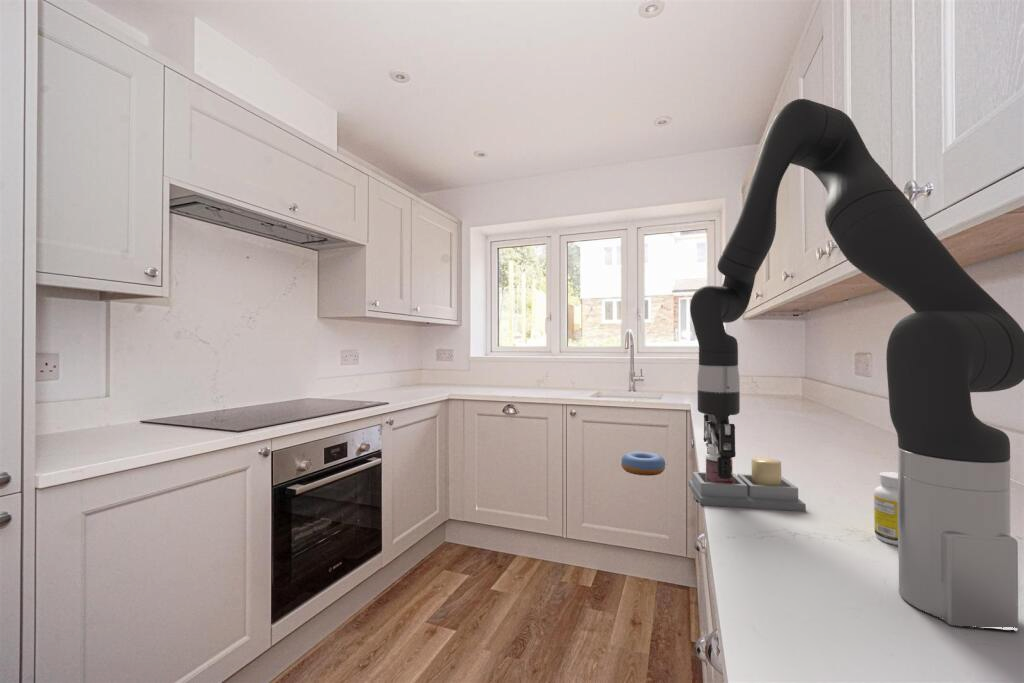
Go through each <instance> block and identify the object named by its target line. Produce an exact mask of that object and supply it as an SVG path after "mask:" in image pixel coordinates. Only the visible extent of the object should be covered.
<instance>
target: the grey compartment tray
mask: <svg viewBox="0 0 1024 683" xmlns="http://www.w3.org/2000/svg"><path fill="white" fill-rule="evenodd" d="M732 480H733V481H732V484H728V483H708V482H706V471H704V472H703V471H702V472H701V471H692V479H688V487H689V489H690V491H691V492H692V493H693V495H694V496H695V498H696V500H697V501H698V503H699V505H702V506H714V507H730V508H733V507H735V508H747V509H763V510H767V509H768V510H779V511H781V510H783V511H796V512H797V511H800V512H801V511H802V512H806V508H807V506H806V505H807V504H806V503H804V502H803V500H801V499H800V498H799V487H797V486H796V485H795V484H794V483H792V482H790V481H789V480H788V479H787V478H785V477H783V476H782V461H780V460H777V459H773V458H769V457H753V458H751V473H750V474H749V473H747V474H746V473H737V474H736V473H732Z"/></svg>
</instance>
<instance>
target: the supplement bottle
mask: <svg viewBox="0 0 1024 683" xmlns="http://www.w3.org/2000/svg"><path fill="white" fill-rule="evenodd" d="M879 483H880V484H881V485H878V486H877V487H875V488H874V491H873V506H874V508H873V510H874V511H873V512H874V513H873V516H874V518H873V519H874V522H873V523H874V535H875V537H876V538H877V539H879V540H880V541H882V542H885V543H888V544H891V545H895V546H898V472H894V471H893V472H891V471H882V472H879Z"/></svg>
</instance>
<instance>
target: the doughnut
mask: <svg viewBox="0 0 1024 683" xmlns="http://www.w3.org/2000/svg"><path fill="white" fill-rule="evenodd" d="M620 466H621V468H622V469H623V471H625V472H627V473H629V474H632V475H637V476H647V477H648V476H657V475H660V474H662V473H664V472H665V469H666V461H665V459H664V458H663V456H661V455H659V454H657V453H655V452H650V451H648V452H647V451H631V452H627V453H624V454H623V456H622V458H621V464H620Z"/></svg>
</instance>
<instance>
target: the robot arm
mask: <svg viewBox="0 0 1024 683" xmlns="http://www.w3.org/2000/svg"><path fill="white" fill-rule="evenodd" d="M861 136H862V135H860V133H859V131H858V129H857V127H856V126H855V124H854V122H853V121H852V119H851V118H850V116H849V115H848V114H847V113H845V112H844V111H842V110H841V109H837V108H835V107H832V106H829V105H826V104H823V103H820V102H816V101H813V100H810V99H808V98H798V99H794V100H792V101H790V102H788V103H787V104H785V105H784V106H783V107H782V108H781V109H780V110H779V111H778V112H777V114H776V115H775V117H774V119H773V120H772V122H771V124H770V126H769V127H768V130H767V133H766V136H765V137H764V140H763V143H762V146H761V150H760V153H759V156H758V158H757V162H756V164H755V167H754V171H753V173H752V176H751V180H750V183H749V187H748V190H747V193H746V197H745V199H744V202H743V205H742V206H743V207H742V209H741V212H740V214H739V217H738V219H737V222H736V225H735V226H734V229H733V230H732V232H731V235H730V237H729V239H728V241H727V243H726V245H725V247H724V249H723V251H722V252H721V253H722V254H721V255H720V258H719V259H718V261H717V270H718V271H719V272H720V273H721V274H722V275H723V276H724V279H723V283H722V285H721V286H718V285H704V286H700V287H699V288H698V289H696V291H695V292H694V293H693V295H692V297H691V300H690V307H689V311H690V317H691V321H692V324H693V325H692V327H693V330H694V332H695V336H696V340H697V342H698V371H697V378H696V379H697V411H698V412H699V413H701V414H704V415H703V443H705V444H704V445H705V447H706V455H707V454H709V452H708V444H713V446H714V447H715V448H716V452H717V475H718V477H719V478H723V479H729V478H731V459H732V460H733V458H736V454H737V452H736V426H735V424H734V423H730V419H729V416H737V415H738V414H740V410H741V405H740V402H741V401H740V398H741V396H740V393H741V392H740V390H741V389H740V379H741V378H740V372H739V345H738V344H739V343H738V339H737V338H736V337H734V336H732V335H730V334H728V333H727V332H726V329H725V326H724V323H726V324H729V323H733V322H735V321H737V320H738V319H740V318H741V317H742V316H743V315H744V314H745V312H746V311H747V309H748V306H749V304H750V301H751V297H752V292H753V289H754V286H755V282H756V280H755V279H756V276H757V273H758V271H759V270H760V268H761V266H762V264H763V262H764V261H765V259H766V257H767V255H768V253H769V251H770V250H771V248H772V245H773V242H774V240H775V237H776V229H777V204H778V202H777V200H778V193H779V188H780V185H781V182H782V180H783V178H784V175H785V173H786V171H787V170H788V168H789V166H790V165H795V166H798V167H801V168H804V169H806V170H809V171H811V172H812V173H813V174H814V175H815V176H816V177H817V179H818V180H819V181H820V182H821V184H822V185H823V187H824V188H825V190H826V192H827V196H828V197H827V201H826V205H825V210H824V218H825V224H826V227H827V230H828V231H829V234H830V235H831V237H832V239H833V240H834V241H835V243H836V245H837V247H838V249H839V250H840V252H841V253H842V255H843V256H844V257H845V259H847V261H848V262H849V263H850V264H851V265H852V266H854V267H855V268H856V269H858V270H859V271H860V272H862V273H863V274H865V276H867V277H868V278H871V279H872V280H873V281H875V282H876V283H878V284H880V285H881V286H883V287H884V288H886V289H887V290H889V291H890V292H892V293H894V294H895V295H897V297H899V298H901V300H903V301H904V302H906V304H907V305H908V306H909V307H910V308H911V309H912V310H913V311H914V312H913V313H910V314H908V315H906V316H904V317H902V318H901V319H900V320H899V321H898V322H897V323H896V324H895V326H894V327H893V328H892V330H891V333H890V334H889V338H888V340H887V346H886V375H887V376H886V377H887V390H888V403H889V415H890V419H891V423H892V424H893V427H894V429H895V432H896V434H897V446H898V448H897V451H898V452H897V454H898V456H897V457H898V458H897V459H898V461H897V463H898V464H897V465H898V466H897V468H898V470H897V473H898V545H897V546H898V549H897V550H898V552H897V554H898V558H897V559H898V592H899V594H900V596H901V598H902V599H904V600H905V601H906V602H907V603H908V604H909V605H911V606H913V607H915V608H917V609H918V610H920V611H922V610H923V612H924V611H925V613H926V612H927V613H926V614H929V613H930V614H929V615H931V614H932V616H934V617H936V616H937V617H936V618H938V617H940V618H939V619H941V618H943V619H944V620H945V621H946V622H945V621H944V620H943V621H944V622H945V623H946V624H947V625H949V626H953V625H954V627H963V626H974V627H975V626H976V627H1002V628H1003V627H1013V628H1014V627H1015V628H1018V629H1019V551H1018V550H1019V546H1018V545H1019V544H1018V543H1019V542H1018V540H1017V539H1016V538H1014V537H1013V536H1011V443H1010V442H1011V441H1010V438H1009V436H1008V435H1007V434H1006V433H1005V432H1004V431H1003V430H1001V429H998V428H996V427H993V426H991V425H988V424H986V423H984V422H983V421H982V420H980V419H979V418H978V417H977V416H976V415H975V414H974V410H973V406H972V398H971V393H992V392H999V391H1005V390H1008V389H1011V388H1013V387H1016V386H1017V385H1019V384H1020V383H1021V382H1023V381H1024V329H1023V328H1022V326H1020V324H1019V323H1018V322H1017V320H1016V319H1014V318H1013V317H1012V315H1010V313H1008V311H1006V309H1005V308H1003V307H1002V306H1001V305H1000V304H999V302H997V301H996V300H995V299H994V298H993V297H992V296H991V295H990V294H989V293H988V292H987V291H986V290H984V288H982V287H981V286H980V285H979V283H977V282H976V280H975V279H974V278H972V277H971V275H969V274H968V273H967V271H966V270H964V269H963V267H962V266H961V265H960V264H959V263H958V261H957V260H956V259H955V257H953V255H952V254H951V253H950V251H949V250H948V249H947V247H946V246H945V245H944V244H943V242H942V241H941V240H940V239H939V238H938V237H937V236H936V234H935V233H934V232H933V231H932V230H931V228H930V227H929V226H928V225H927V223H926V221H925V220H924V219H923V217H922V216H921V214H920V213H919V211H918V210H917V209H916V208H915V207H914V205H913V204H912V203H911V202H910V200H909V199H908V198H907V196H906V195H905V193H903V191H902V190H901V189H900V188H899V187H898V186H897V184H895V182H894V181H893V180H892V178H890V176H889V175H888V174H887V173H886V171H885V170H884V169H883V168H882V167H881V165H880V164H879V163H878V162H877V161H876V160H875V158H874V157H872V156H873V155H871V153H870V151H869V149H868V148H867V146H866V144H865V143H864V140H863V138H862V137H861ZM724 447H726V448H727V450H724ZM955 625H956V626H955ZM957 625H958V626H957ZM974 627H973V628H974Z"/></svg>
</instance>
